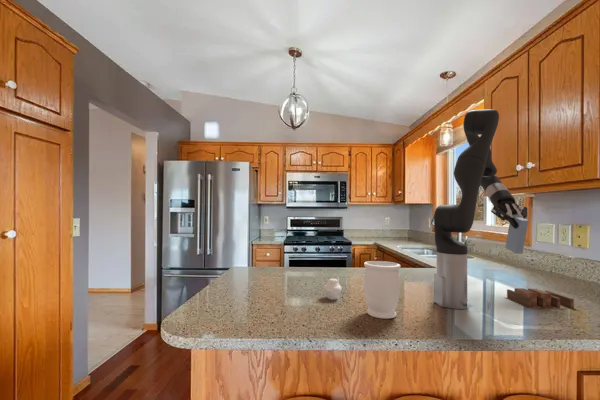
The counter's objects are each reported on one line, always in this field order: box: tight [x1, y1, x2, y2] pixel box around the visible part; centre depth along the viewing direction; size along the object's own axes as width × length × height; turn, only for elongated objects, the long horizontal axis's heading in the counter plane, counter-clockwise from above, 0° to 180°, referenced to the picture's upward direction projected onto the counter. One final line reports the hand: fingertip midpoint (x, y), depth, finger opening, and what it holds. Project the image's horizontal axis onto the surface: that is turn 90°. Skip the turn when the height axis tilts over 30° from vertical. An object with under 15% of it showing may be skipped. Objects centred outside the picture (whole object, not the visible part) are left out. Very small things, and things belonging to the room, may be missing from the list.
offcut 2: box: [527, 288, 551, 306], centre depth 100 cm, size 3×6×4 cm, turn 179°
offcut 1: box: [513, 287, 537, 306], centre depth 100 cm, size 3×6×4 cm, turn 179°
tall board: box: [505, 216, 529, 255], centre depth 113 cm, size 2×6×13 cm, turn 178°
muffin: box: [323, 278, 343, 301], centre depth 103 cm, size 6×6×7 cm
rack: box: [505, 289, 575, 310], centre depth 100 cm, size 15×11×4 cm
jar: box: [363, 260, 402, 320], centre depth 88 cm, size 11×10×15 cm
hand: (520, 227), depth 110 cm, fingers closed on tall board, 2 cm apart
